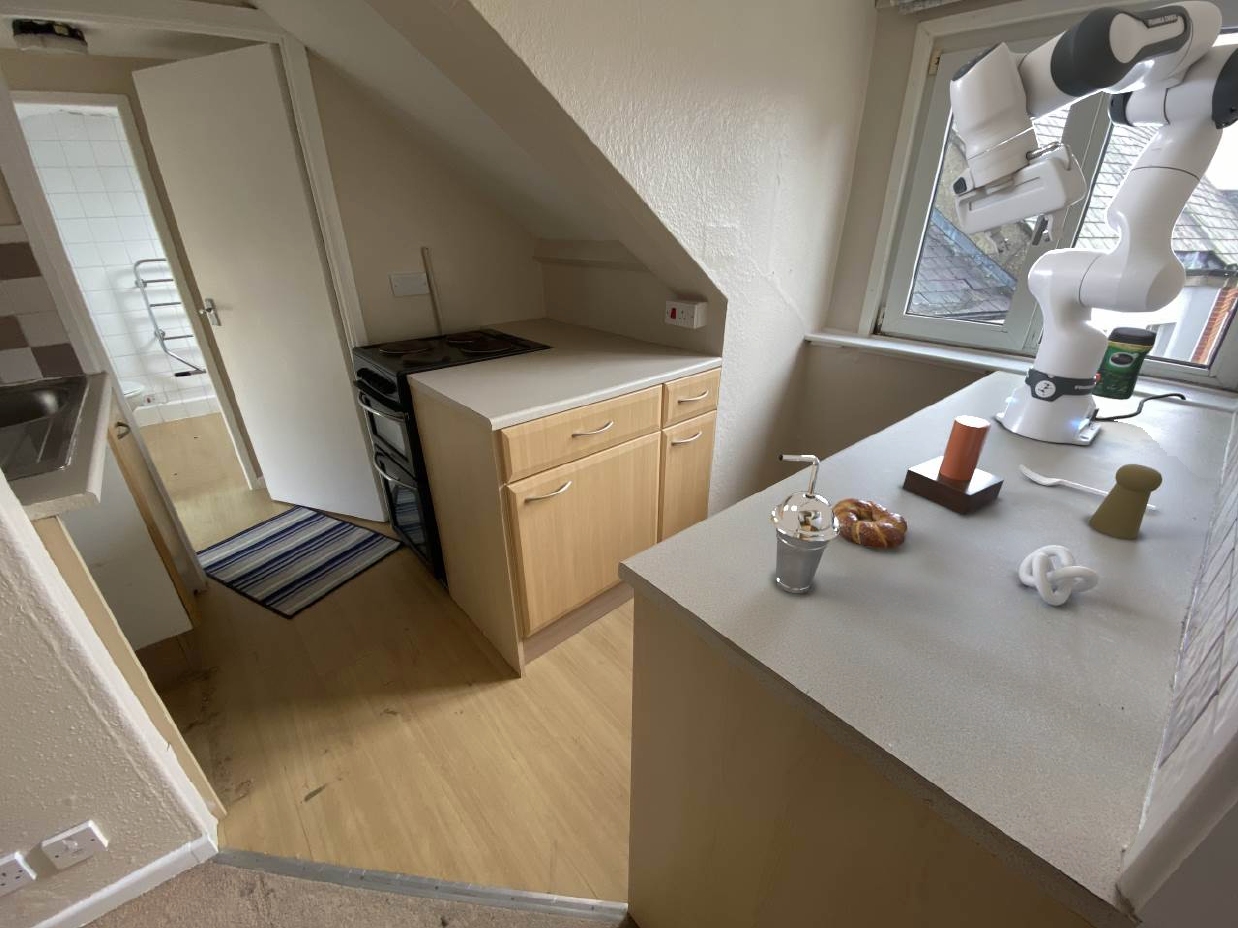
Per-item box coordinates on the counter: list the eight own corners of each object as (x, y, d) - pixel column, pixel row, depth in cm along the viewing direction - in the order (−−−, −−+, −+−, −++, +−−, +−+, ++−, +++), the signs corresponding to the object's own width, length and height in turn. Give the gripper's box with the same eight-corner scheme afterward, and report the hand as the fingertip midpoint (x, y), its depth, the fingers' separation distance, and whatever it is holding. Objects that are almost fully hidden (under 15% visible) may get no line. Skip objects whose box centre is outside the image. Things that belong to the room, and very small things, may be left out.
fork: (1155, 515, 89) (1160, 506, 89) (1015, 477, 101) (1018, 468, 101) (1155, 508, 92) (1160, 498, 91) (1017, 471, 104) (1021, 463, 103)
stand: (936, 474, 102) (942, 455, 100) (997, 499, 94) (1004, 479, 92) (902, 488, 97) (907, 468, 95) (963, 515, 89) (970, 495, 87)
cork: (1146, 540, 83) (1181, 479, 78) (1102, 536, 84) (1133, 474, 79) (1122, 520, 88) (1152, 461, 83) (1081, 516, 89) (1108, 457, 84)
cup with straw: (830, 607, 68) (864, 469, 59) (758, 598, 69) (781, 462, 60) (820, 567, 75) (848, 439, 67) (755, 560, 77) (775, 433, 68)
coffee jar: (1131, 396, 146) (1162, 328, 137) (1127, 403, 141) (1160, 333, 132) (1086, 388, 152) (1114, 323, 144) (1082, 394, 147) (1110, 327, 139)
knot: (1067, 621, 66) (1086, 584, 64) (998, 585, 72) (1013, 551, 70) (1092, 600, 70) (1111, 564, 67) (1025, 568, 76) (1040, 534, 73)
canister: (948, 465, 97) (965, 414, 92) (978, 476, 93) (997, 423, 88) (932, 471, 94) (949, 419, 90) (962, 483, 90) (980, 429, 86)
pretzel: (811, 519, 87) (815, 499, 85) (861, 506, 91) (865, 487, 89) (868, 560, 77) (873, 538, 76) (921, 543, 81) (927, 523, 79)
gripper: (1086, 125, 73) (1109, 222, 77) (973, 174, 93) (995, 249, 96) (1046, 146, 73) (1071, 242, 77) (942, 191, 93) (965, 265, 96)
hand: (1028, 246), depth 87 cm, fingers open, 8 cm apart
